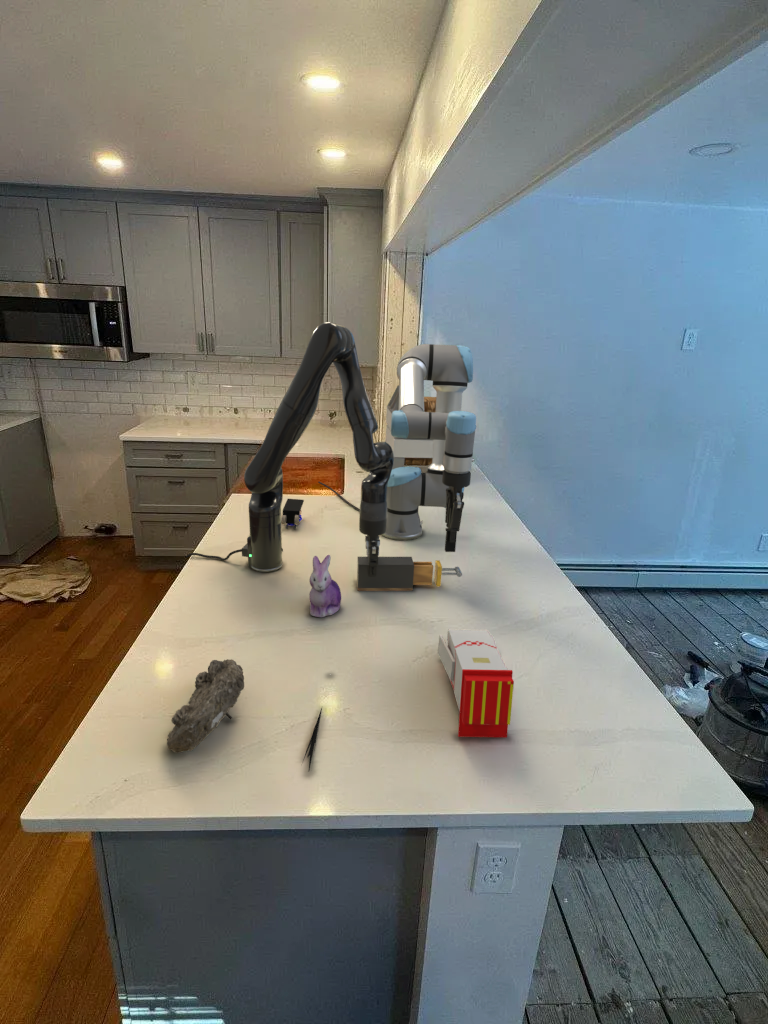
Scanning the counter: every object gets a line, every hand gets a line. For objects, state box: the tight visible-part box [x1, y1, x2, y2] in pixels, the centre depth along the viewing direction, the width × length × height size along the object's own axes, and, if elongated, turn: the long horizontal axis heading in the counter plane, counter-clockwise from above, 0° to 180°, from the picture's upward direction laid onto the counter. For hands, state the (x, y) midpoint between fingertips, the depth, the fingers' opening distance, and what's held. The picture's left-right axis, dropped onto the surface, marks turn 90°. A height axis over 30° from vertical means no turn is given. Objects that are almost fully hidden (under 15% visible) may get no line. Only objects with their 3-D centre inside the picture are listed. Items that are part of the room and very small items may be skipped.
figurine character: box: [281, 498, 305, 530], centre depth 203 cm, size 7×8×15 cm
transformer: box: [384, 384, 436, 470], centre depth 268 cm, size 34×33×41 cm
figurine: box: [308, 554, 342, 618], centre depth 145 cm, size 9×10×15 cm
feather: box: [301, 673, 332, 771], centre depth 108 cm, size 2×28×2 cm
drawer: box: [413, 559, 463, 588], centre depth 162 cm, size 20×4×6 cm, turn 95°
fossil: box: [166, 658, 245, 754], centre depth 106 cm, size 22×10×15 cm
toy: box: [437, 628, 515, 738], centre depth 117 cm, size 12×13×30 cm
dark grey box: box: [356, 556, 414, 592], centre depth 161 cm, size 16×6×8 cm, turn 95°
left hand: (371, 571), depth 160 cm, fingers closed on dark grey box, 5 cm apart
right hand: (449, 550), depth 160 cm, fingers closed
